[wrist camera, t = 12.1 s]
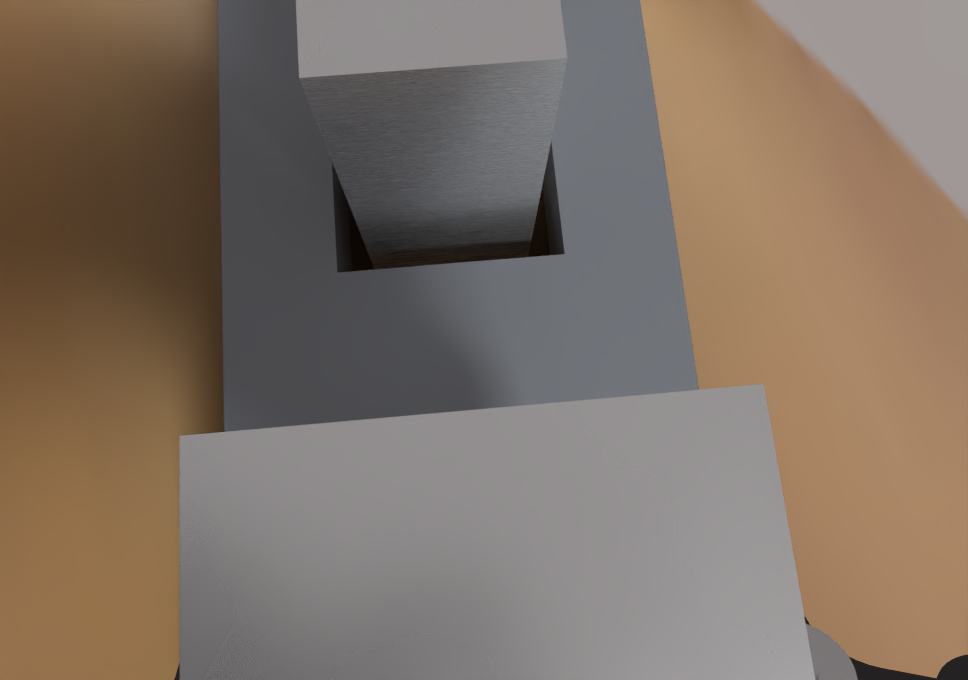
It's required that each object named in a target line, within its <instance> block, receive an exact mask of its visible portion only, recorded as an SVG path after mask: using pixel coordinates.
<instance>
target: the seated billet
mask: <svg viewBox="0 0 968 680" xmlns="http://www.w3.org/2000/svg"><path fill="white" fill-rule="evenodd" d="M296 16H297V40H298V65H299V79H300V82H301V84H302V87H303V89H304V92H305V94H306V97H307V99H308V102H309V104H310V107H311V110H312V112H313V115H314V117H315V120H316V122H317V125H318V127H319V130H320V132H321V135H322V137H323V140H324V143H325V145H326V148H327V150H328V153H329V155H330V158H331V160H332V163H333V165H334V168H335V170H336V173H337V175H338V178H339V181H340V183H341V186H342V188H343V191H344V193H345V196H346V198H347V201H348V203H349V206H350V208H351V211H352V214H353V216H354V219H355V221H356V224H357V226H358V229H359V231H360V234H361V236H362V239H363V241H364V244H365V246H366V249H367V252H368V254H369V257H370V259H371V262H372V264H373V267H374V269H388V268H400V267H412V266H425V265H437V264H449V263H462V262H474V261H486V260H499V259H511V258H523V257H528V255H529V250H530V245H531V240H532V235H533V230H534V225H535V220H536V215H537V210H538V205H539V199H540V194H541V189H542V184H543V179H544V174H545V169H546V164H547V159H548V154H549V149H550V144H551V139H552V134H553V129H554V124H555V119H556V114H557V109H558V104H559V99H560V93H561V88H562V83H563V78H564V73H565V68H566V63H567V50H566V42H565V35H564V27H563V19H562V11H561V3H560V0H296Z"/></svg>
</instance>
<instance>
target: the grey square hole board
mask: <svg viewBox="0 0 968 680" xmlns="http://www.w3.org/2000/svg"><path fill="white" fill-rule="evenodd" d="M560 3H561V11H562V19H563V27H564V35H565V42H566V50H567V63H566V68H565V73H564V78H563V83H562V88H561V93H560V99H559V104H558V109H557V114H556V119H555V124H554V129H553V134H552V139H551V144H550V149H549V154H548V159H547V164H546V169H545V174H544V179H543V184H542V188H543V197H544V206H545V215H546V224H547V233H548V241H549V250H550V255H548V256H536V257H523V258H511V259H499V260H486V261H474V262H462V263H449V264H437V265H425V266H412V267H400V268H388V269H375V270H363V271H352V255H351V237H350V218H349V203H348V201H347V198H346V196H345V193H344V191H343V188H342V186H341V183H340V181H339V178H338V175H337V173H336V170H335V168H334V165H333V163H332V160H331V158H330V155H329V153H328V150H327V148H326V145H325V143H324V140H323V137H322V135H321V132H320V130H319V127H318V125H317V122H316V120H315V117H314V115H313V112H312V110H311V107H310V104H309V102H308V99H307V97H306V94H305V92H304V89H303V87H302V84H301V82H300V79H299V65H298V40H297V16H296V0H218V64H219V129H220V193H221V258H222V322H223V387H224V432H229V431H241V430H252V429H263V428H274V427H285V426H297V425H308V424H319V423H331V422H342V421H353V420H364V419H376V418H387V417H398V416H409V415H421V414H432V413H443V412H454V411H466V410H477V409H488V408H500V407H511V406H522V405H533V404H545V403H556V402H567V401H578V400H590V399H601V398H612V397H623V396H635V395H646V394H657V393H668V392H680V391H691V390H699V387H698V380H697V373H696V367H695V360H694V354H693V347H692V341H691V334H690V327H689V321H688V314H687V308H686V301H685V294H684V288H683V281H682V275H681V268H680V262H679V255H678V248H677V242H676V235H675V229H674V222H673V215H672V209H671V202H670V196H669V189H668V183H667V176H666V169H665V163H664V156H663V150H662V143H661V137H660V130H659V123H658V117H657V110H656V104H655V97H654V90H653V84H652V77H651V71H650V64H649V58H648V51H647V44H646V38H645V31H644V25H643V18H642V11H641V5H640V0H560Z"/></svg>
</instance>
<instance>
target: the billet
mask: <svg viewBox="0 0 968 680" xmlns="http://www.w3.org/2000/svg"><path fill="white" fill-rule="evenodd" d="M180 680H815V675H814V669H813V663H812V658H811V652H810V646H809V640H808V635H807V629H806V623H805V618H804V612H803V606H802V600H801V595H800V589H799V583H798V578H797V572H796V566H795V561H794V555H793V549H792V543H791V538H790V532H789V526H788V521H787V515H786V509H785V503H784V498H783V492H782V486H781V481H780V475H779V469H778V463H777V458H776V452H775V446H774V441H773V435H772V429H771V424H770V418H769V412H768V406H767V401H766V395H765V389H764V384H759V385H747V386H736V387H725V388H714V389H702V390H691V391H680V392H668V393H657V394H646V395H635V396H623V397H612V398H601V399H590V400H578V401H567V402H556V403H545V404H533V405H522V406H511V407H500V408H488V409H477V410H466V411H454V412H443V413H432V414H421V415H409V416H398V417H387V418H376V419H364V420H353V421H342V422H331V423H319V424H308V425H297V426H285V427H274V428H263V429H252V430H241V431H229V432H218V433H207V434H195V435H184V436H180Z"/></svg>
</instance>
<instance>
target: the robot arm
mask: <svg viewBox="0 0 968 680" xmlns="http://www.w3.org/2000/svg"><path fill="white" fill-rule="evenodd" d="M804 618H805V623H806V629H807V635H808V640H809V646H810V652H811V658H812V663H813V669H814V675H815V680H968V655H963V656H960V657H957V658H954V659H952V660H951V661H949V662H947V663H946V664H945V665H944V666H943V667H942V669H941V670H940V672H939V674H938V676H937V678H931V677H926V676H921V675H915V674H910V673H905V672H900V671H894V670H889V669H884V668H879V667H875V666H871V665H868V664H865V663H862V662H860V661H857V660H855V659H853V658H851V657H849V656H848V655H847V654H846V652H845V651H844V650H843V649H842V648H841V647H840V645H839V644H838V643H837V642H835V641H834V640H833V639H832V638H831V637H829V636H828V635H827V634H825V633H823V632H822V631H820V630H819V629H817V628H815V627H813V626H811V625H810V624H809V622H808V621H807V619H806V617H805V616H804ZM174 680H180V663H179V667H178V670H177V673H176V677H175V679H174Z"/></svg>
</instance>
